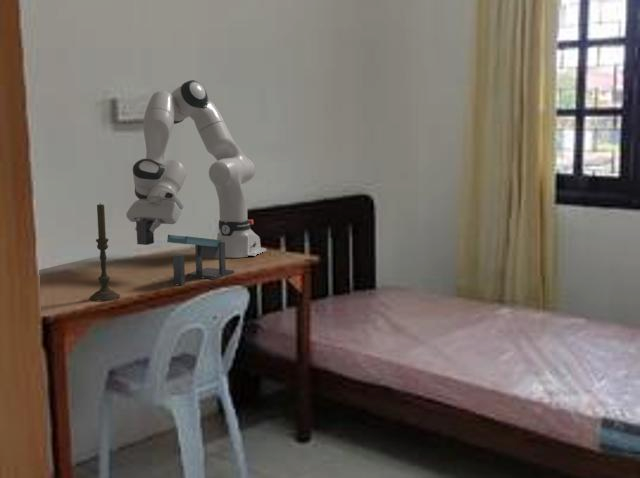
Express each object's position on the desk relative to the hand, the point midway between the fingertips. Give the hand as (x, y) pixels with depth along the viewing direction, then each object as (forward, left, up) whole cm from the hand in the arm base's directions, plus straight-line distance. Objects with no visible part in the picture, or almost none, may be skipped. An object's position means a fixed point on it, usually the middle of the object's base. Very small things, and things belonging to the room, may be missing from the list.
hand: (143, 231), depth 279 cm
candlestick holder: (+28, +7, -17) cm, 34 cm away
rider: (-1, 0, -4) cm, 4 cm away
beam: (-7, +16, -9) cm, 20 cm away
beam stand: (-9, +16, -17) cm, 25 cm away
